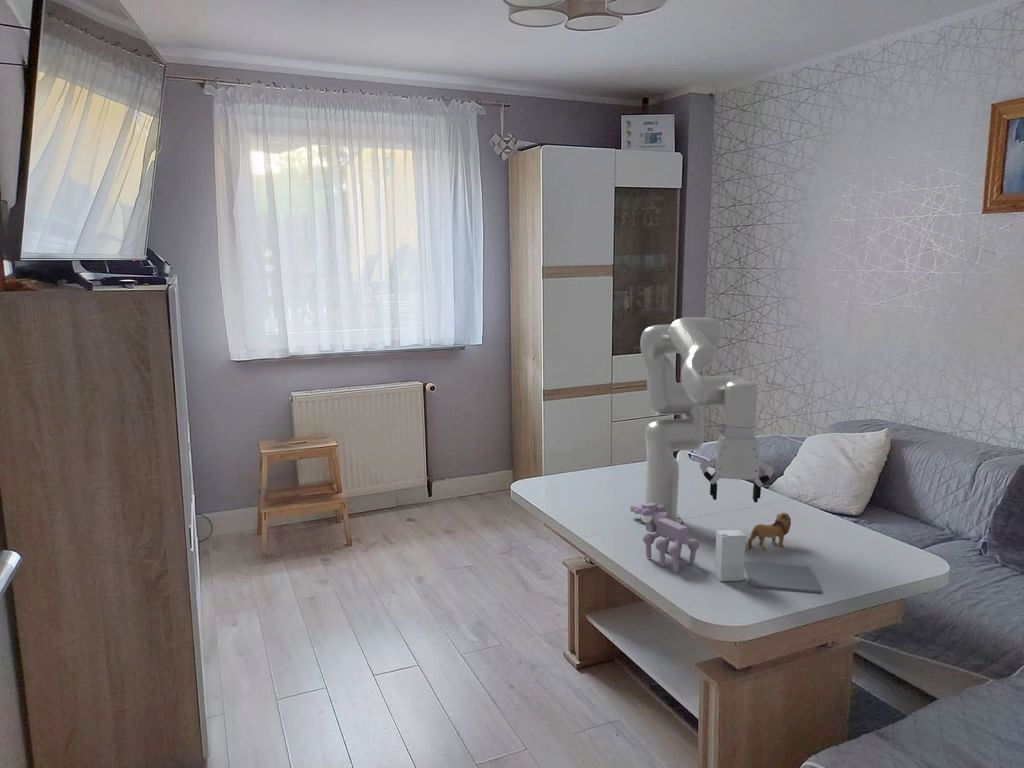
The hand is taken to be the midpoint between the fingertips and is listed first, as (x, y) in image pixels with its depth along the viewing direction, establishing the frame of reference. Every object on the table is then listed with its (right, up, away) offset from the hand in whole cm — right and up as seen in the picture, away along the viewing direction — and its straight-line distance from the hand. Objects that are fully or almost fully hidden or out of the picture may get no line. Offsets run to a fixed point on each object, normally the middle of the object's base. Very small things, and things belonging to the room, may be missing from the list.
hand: (734, 499), depth 171 cm
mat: (+13, -20, +4) cm, 24 cm away
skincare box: (0, -21, +3) cm, 21 cm away
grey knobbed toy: (-15, -18, +16) cm, 28 cm away
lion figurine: (+17, -17, +24) cm, 34 cm away
